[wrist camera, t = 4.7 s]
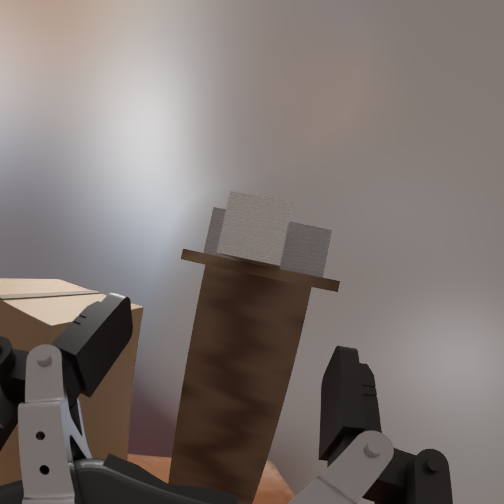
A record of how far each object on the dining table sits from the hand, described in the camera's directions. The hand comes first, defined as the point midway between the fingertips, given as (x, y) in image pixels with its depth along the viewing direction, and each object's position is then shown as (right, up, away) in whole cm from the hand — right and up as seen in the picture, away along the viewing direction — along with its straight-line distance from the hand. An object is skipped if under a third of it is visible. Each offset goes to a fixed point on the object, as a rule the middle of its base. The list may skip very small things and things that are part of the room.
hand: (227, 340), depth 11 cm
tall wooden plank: (-5, -29, +14) cm, 33 cm away
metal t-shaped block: (+1, +2, +11) cm, 12 cm away
